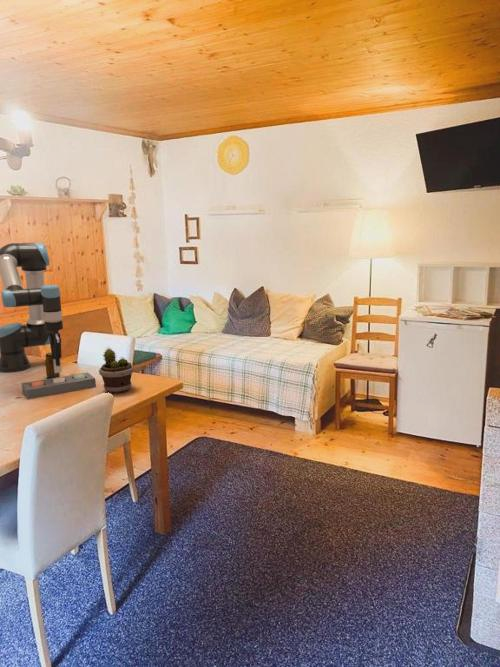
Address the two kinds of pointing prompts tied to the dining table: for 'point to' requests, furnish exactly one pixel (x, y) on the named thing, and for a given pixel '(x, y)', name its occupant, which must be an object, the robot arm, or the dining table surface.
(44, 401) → the dining table surface
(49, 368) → the condiment
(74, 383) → the console
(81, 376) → the button sage
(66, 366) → the dining table surface
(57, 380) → the button white
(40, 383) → the button rust
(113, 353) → the flowerpot
